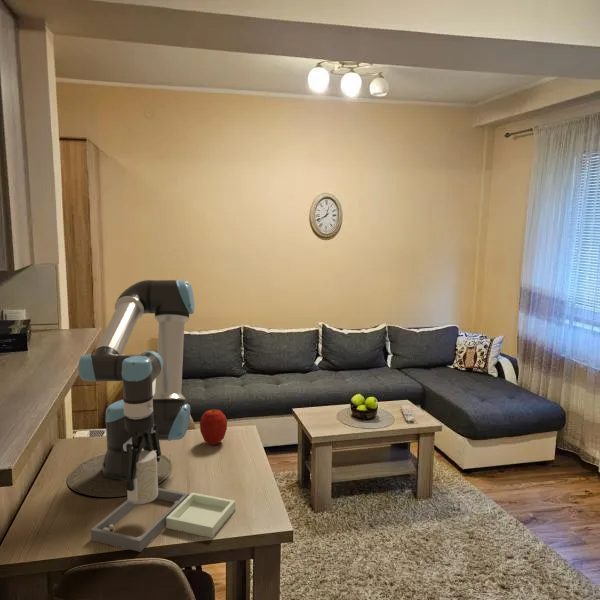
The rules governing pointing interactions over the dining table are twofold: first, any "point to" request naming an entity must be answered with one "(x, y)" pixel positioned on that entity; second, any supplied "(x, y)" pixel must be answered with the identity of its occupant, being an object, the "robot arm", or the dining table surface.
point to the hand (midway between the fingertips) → (142, 491)
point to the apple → (213, 426)
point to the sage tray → (201, 515)
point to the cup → (146, 477)
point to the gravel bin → (133, 543)
